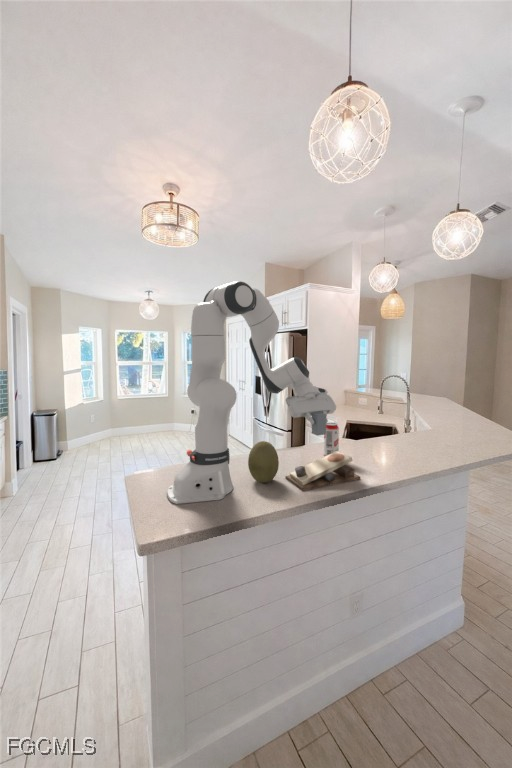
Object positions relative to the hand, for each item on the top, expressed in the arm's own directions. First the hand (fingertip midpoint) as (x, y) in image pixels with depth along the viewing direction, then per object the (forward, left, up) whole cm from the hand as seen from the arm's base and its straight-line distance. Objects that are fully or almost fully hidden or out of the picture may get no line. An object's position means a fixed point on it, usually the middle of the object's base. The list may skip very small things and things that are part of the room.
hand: (319, 423), depth 124 cm
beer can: (+13, +11, -20) cm, 26 cm away
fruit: (-24, +1, -20) cm, 31 cm away
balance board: (-3, -6, -16) cm, 17 cm away
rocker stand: (-3, -6, -20) cm, 21 cm away
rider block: (0, +1, -4) cm, 4 cm away
